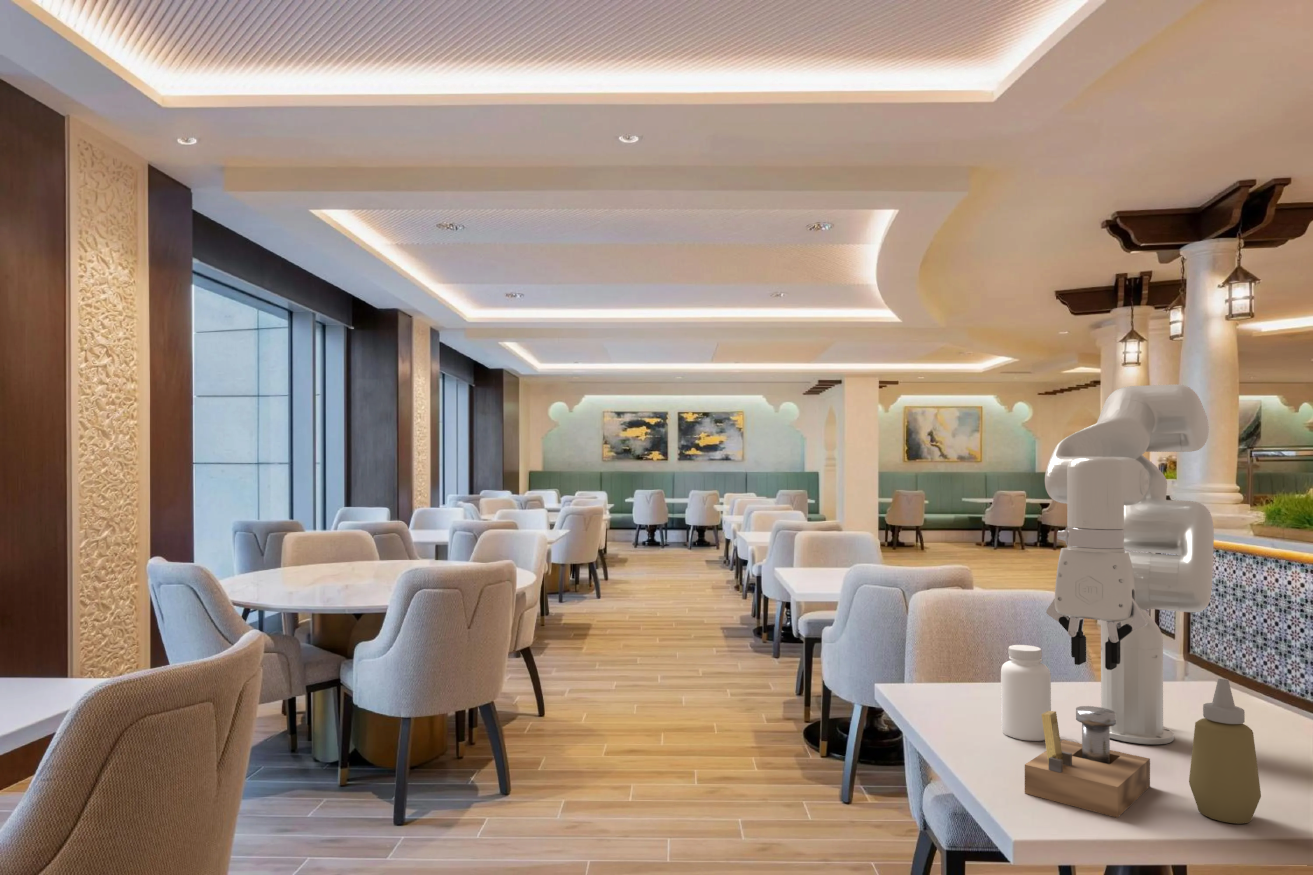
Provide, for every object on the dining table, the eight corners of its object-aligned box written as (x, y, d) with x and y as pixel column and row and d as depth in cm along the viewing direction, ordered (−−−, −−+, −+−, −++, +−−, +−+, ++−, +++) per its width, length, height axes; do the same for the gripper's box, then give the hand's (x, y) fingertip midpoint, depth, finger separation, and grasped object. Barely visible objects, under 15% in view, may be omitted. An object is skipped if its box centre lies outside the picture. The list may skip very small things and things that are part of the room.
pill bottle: (990, 730, 151) (990, 644, 151) (1025, 725, 154) (1025, 641, 154) (1026, 744, 143) (1026, 653, 144) (1061, 739, 147) (1061, 650, 147)
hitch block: (1063, 765, 133) (1063, 729, 133) (1150, 786, 125) (1149, 747, 125) (1024, 792, 121) (1024, 752, 122) (1117, 817, 113) (1117, 774, 113)
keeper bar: (1063, 762, 122) (1054, 761, 122) (1056, 711, 122) (1047, 710, 123) (1057, 766, 120) (1048, 765, 121) (1050, 714, 121) (1041, 714, 122)
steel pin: (1082, 774, 129) (1082, 703, 130) (1120, 783, 126) (1120, 710, 126) (1071, 783, 126) (1070, 710, 126) (1110, 792, 122) (1109, 718, 122)
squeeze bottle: (1174, 804, 118) (1174, 672, 119) (1230, 803, 119) (1229, 672, 119) (1218, 829, 110) (1217, 687, 111) (1277, 828, 111) (1275, 687, 111)
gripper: (1028, 538, 130) (1028, 660, 129) (1151, 546, 119) (1152, 680, 118) (1045, 535, 135) (1046, 653, 135) (1165, 543, 124) (1166, 671, 123)
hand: (1095, 664), depth 126 cm, fingers open, 3 cm apart
